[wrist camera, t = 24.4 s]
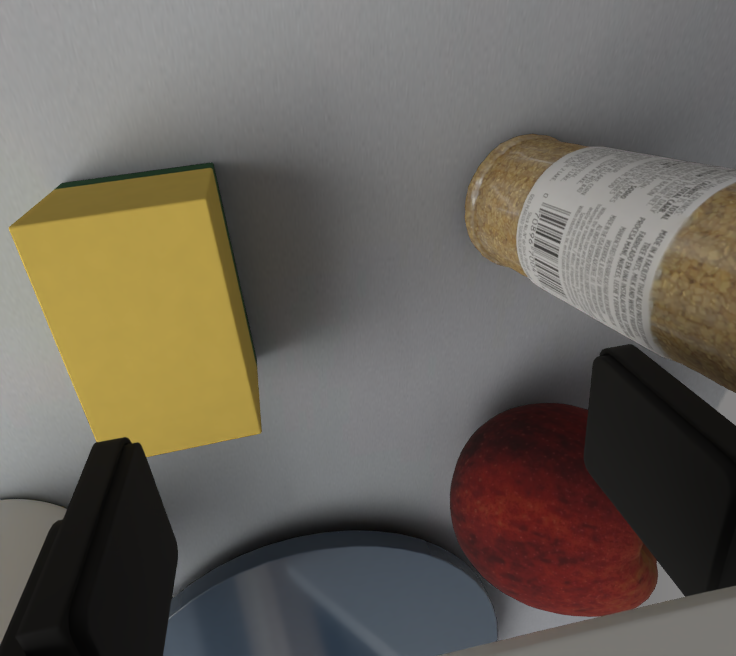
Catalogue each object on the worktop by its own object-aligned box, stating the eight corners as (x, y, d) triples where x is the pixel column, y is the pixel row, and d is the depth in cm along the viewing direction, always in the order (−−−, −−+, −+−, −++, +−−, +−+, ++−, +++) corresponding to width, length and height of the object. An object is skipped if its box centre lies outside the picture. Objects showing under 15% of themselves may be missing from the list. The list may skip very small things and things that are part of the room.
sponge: (61, 183, 16) (7, 227, 13) (213, 161, 17) (207, 197, 13) (131, 382, 20) (105, 466, 16) (256, 358, 20) (262, 434, 16)
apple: (581, 487, 27) (700, 642, 20) (426, 521, 26) (497, 697, 19) (600, 355, 24) (752, 487, 17) (422, 387, 23) (507, 543, 16)
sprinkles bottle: (554, 265, 21) (1036, 504, 9) (446, 259, 19) (867, 537, 8) (589, 138, 19) (1228, 240, 8) (474, 120, 18) (1063, 213, 6)
